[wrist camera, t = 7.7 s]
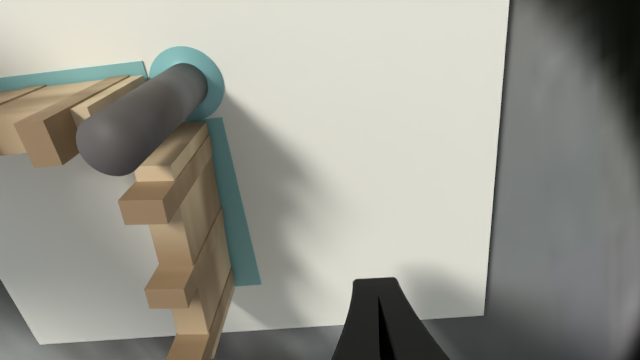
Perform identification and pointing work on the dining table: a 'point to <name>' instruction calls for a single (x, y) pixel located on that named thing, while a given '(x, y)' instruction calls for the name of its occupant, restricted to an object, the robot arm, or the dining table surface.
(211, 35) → the mat
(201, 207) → the fence panel
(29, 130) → the fence fixed panel
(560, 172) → the dining table surface
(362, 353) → the robot arm
